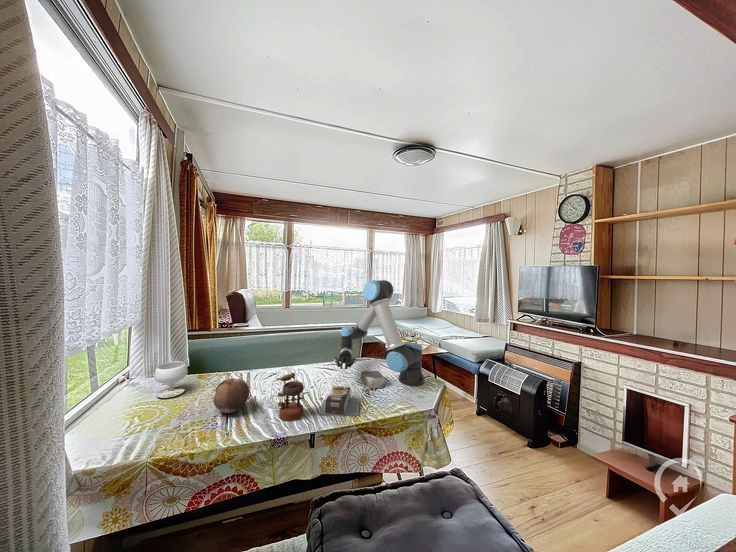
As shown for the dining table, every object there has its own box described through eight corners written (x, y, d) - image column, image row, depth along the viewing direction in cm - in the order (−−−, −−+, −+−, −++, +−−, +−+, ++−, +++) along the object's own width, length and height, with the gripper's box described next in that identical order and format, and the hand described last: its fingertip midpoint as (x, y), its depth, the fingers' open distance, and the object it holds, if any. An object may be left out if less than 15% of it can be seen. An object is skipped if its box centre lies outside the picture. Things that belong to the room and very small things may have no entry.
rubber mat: (359, 401, 140) (359, 400, 140) (358, 416, 126) (358, 414, 126) (323, 400, 140) (323, 399, 140) (319, 415, 126) (319, 413, 126)
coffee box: (350, 386, 142) (345, 401, 126) (350, 398, 142) (344, 415, 126) (333, 384, 143) (325, 399, 126) (332, 397, 143) (324, 413, 127)
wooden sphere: (252, 401, 137) (252, 372, 136) (244, 418, 122) (244, 385, 121) (219, 403, 134) (220, 373, 133) (207, 420, 119) (207, 386, 119)
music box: (278, 425, 117) (278, 377, 118) (273, 415, 127) (273, 371, 128) (313, 416, 125) (312, 371, 126) (305, 407, 134) (305, 365, 135)
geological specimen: (377, 369, 172) (386, 377, 158) (377, 379, 172) (386, 388, 157) (361, 370, 168) (368, 379, 154) (360, 380, 168) (368, 390, 154)
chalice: (155, 403, 132) (155, 372, 132) (153, 392, 143) (153, 364, 142) (189, 395, 142) (189, 366, 141) (185, 385, 152) (185, 358, 152)
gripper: (355, 362, 172) (355, 377, 149) (335, 361, 172) (331, 376, 148) (356, 350, 172) (355, 363, 149) (335, 349, 172) (331, 362, 148)
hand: (343, 370), depth 149 cm, fingers closed
